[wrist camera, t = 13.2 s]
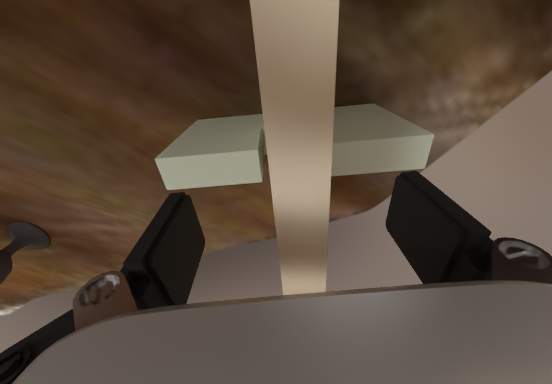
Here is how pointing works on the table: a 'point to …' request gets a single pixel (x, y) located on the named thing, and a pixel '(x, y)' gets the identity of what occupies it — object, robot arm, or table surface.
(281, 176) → the maple plate
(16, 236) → the sundae
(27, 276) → the table surface
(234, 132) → the sage board
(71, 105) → the table surface
